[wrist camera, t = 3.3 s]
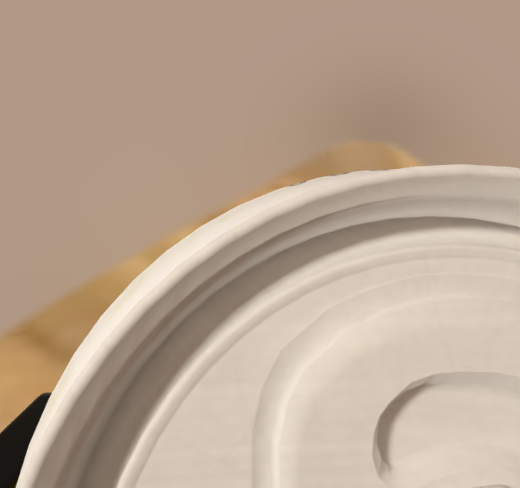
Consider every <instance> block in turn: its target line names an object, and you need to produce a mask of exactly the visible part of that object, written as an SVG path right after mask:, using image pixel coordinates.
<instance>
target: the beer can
mask: <svg viewBox="0 0 520 488" xmlns="http://www.w3.org/2000/svg"><path fill="white" fill-rule="evenodd" d="M16 488H520V169H519V168H513V167H500V166H483V165H466V164H456V165H438V166H419V167H408V168H402V169H389V170H370V171H356V172H350V173H344V174H338V175H332V176H326V177H320V178H315V179H312V180H308V181H305V182H301V183H298V184H294V185H291V186H287V187H284V188H280V189H277V190H275V191H272V192H270V193H267V194H265V195H263V196H260V197H258V198H255V199H253V200H250V201H248V202H246V203H243V204H241V205H239V206H237V207H235V208H233V209H231V210H229V211H228V212H226V213H224V214H222V215H220V216H219V217H217V218H215V219H213V220H211V221H210V222H208V223H206V224H204V225H202V226H201V227H199V228H198V229H197V230H195V231H194V232H192V233H191V234H190V235H188V236H187V237H185V238H184V239H183V240H181V241H180V242H178V243H177V244H175V245H174V246H173V247H171V248H170V249H168V250H167V251H166V252H165V253H163V254H162V255H161V256H160V257H159V258H158V259H157V260H156V261H155V262H153V263H152V264H151V265H150V266H149V267H148V268H147V269H146V270H144V271H143V272H142V273H141V274H140V275H139V276H138V277H137V278H136V279H134V280H133V281H132V282H131V283H130V285H129V286H128V287H127V288H126V289H125V290H124V291H123V292H122V294H121V295H120V296H119V297H118V298H117V299H116V300H115V301H114V302H113V304H112V305H111V306H110V307H109V308H108V309H107V310H106V311H105V312H104V314H103V315H102V316H101V317H100V319H99V320H98V321H97V323H96V324H95V326H94V327H93V328H92V330H91V331H90V333H89V334H88V335H87V337H86V338H85V340H84V341H83V342H82V344H81V345H80V347H79V348H78V349H77V351H76V352H75V354H74V355H73V357H72V359H71V360H70V362H69V364H68V366H67V368H66V369H65V371H64V373H63V375H62V376H61V378H60V380H59V382H58V383H57V385H56V387H55V389H54V391H53V392H52V394H51V396H50V398H49V400H48V402H47V405H46V407H45V409H44V411H43V414H42V416H41V418H40V421H39V423H38V425H37V428H36V430H35V432H34V435H33V437H32V439H31V442H30V444H29V447H28V450H27V453H26V456H25V459H24V463H23V466H22V469H21V472H20V476H19V479H18V482H17V485H16Z"/></svg>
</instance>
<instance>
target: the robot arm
mask: <svg viewBox="0 0 520 488" xmlns="http://www.w3.org/2000/svg"><path fill="white" fill-rule="evenodd" d="M51 394H52V393H43V394H41V395H40V396H39V397H37V398H36V399H35V400H34V401H33V402H32V403H31V404H30V405H29V406H28V407H27V408H26V409H25V410H24V411H23V412H22V413H21V414H20V415H19V416H18V417H17V418H16V419H15V420H14V421H12V422H11V423H10V424H9V425H8V426H7V427H6V428H5V429H4V430H3V431H2V432H1V433H0V488H16V485H17V482H18V479H19V476H20V472H21V469H22V466H23V463H24V459H25V456H26V453H27V450H28V447H29V444H30V442H31V439H32V437H33V435H34V432H35V430H36V428H37V425H38V423H39V421H40V418H41V416H42V414H43V411H44V409H45V407H46V405H47V402H48V400H49V398H50V396H51Z"/></svg>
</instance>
